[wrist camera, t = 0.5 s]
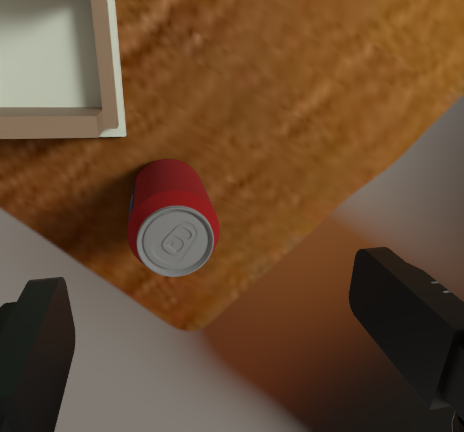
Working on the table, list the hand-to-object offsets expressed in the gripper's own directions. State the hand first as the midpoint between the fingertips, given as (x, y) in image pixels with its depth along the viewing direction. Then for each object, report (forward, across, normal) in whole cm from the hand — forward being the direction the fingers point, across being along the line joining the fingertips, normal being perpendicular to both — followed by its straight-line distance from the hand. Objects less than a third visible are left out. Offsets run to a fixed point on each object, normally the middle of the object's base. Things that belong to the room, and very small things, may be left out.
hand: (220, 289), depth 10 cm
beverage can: (+27, 0, +6) cm, 27 cm away
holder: (+27, +9, -6) cm, 29 cm away
